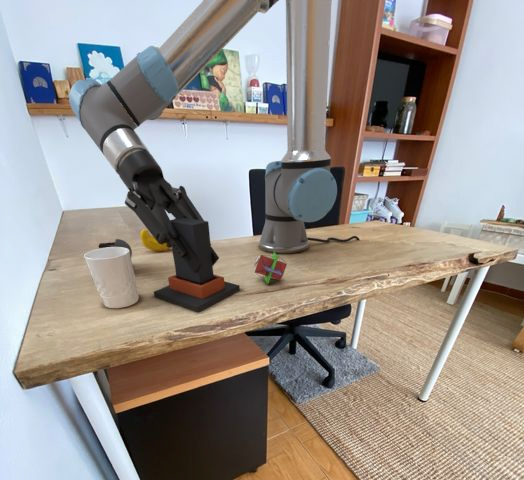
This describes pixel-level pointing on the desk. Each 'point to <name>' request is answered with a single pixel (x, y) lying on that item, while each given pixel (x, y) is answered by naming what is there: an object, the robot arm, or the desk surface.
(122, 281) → the white cup
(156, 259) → the desk surface
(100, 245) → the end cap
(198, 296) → the base pad
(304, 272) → the desk surface
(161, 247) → the duckling
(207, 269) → the pad block
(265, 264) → the geometric puzzle
